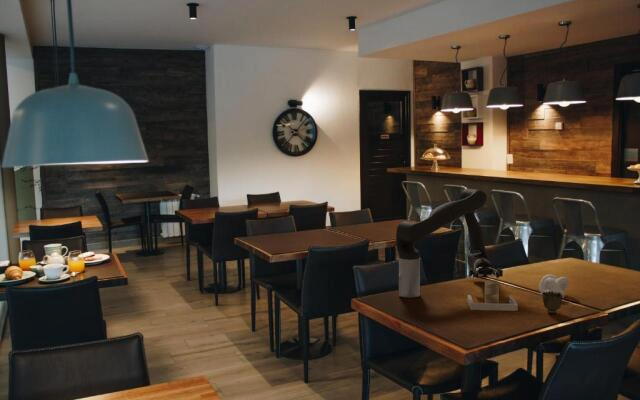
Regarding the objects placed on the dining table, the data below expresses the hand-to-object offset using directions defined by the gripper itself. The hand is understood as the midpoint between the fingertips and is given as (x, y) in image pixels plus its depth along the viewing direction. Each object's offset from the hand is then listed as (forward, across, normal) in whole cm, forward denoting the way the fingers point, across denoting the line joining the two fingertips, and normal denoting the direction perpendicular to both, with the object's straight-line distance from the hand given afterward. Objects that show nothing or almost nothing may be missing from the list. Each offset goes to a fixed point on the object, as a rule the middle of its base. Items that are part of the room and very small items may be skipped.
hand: (487, 275), depth 251 cm
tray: (+11, 0, +10) cm, 15 cm away
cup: (+20, +22, +10) cm, 32 cm away
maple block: (+11, 0, +10) cm, 15 cm away
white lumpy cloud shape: (-5, +28, +10) cm, 30 cm away
